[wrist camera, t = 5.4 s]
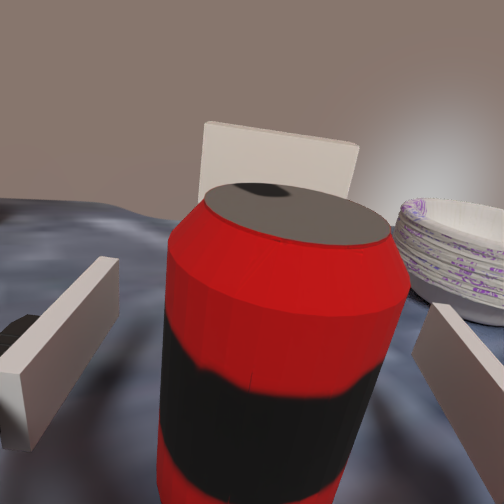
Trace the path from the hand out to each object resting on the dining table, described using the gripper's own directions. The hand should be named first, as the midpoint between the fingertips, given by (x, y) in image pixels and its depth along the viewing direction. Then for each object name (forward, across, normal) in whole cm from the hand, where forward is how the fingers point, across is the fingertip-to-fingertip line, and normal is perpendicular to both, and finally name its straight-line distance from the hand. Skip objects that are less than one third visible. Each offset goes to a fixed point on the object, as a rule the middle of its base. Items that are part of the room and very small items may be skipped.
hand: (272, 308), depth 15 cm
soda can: (-2, 0, -7) cm, 7 cm away
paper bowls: (+17, +20, -7) cm, 27 cm away
